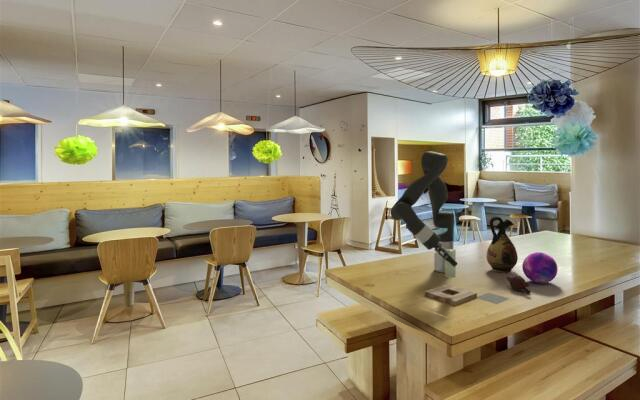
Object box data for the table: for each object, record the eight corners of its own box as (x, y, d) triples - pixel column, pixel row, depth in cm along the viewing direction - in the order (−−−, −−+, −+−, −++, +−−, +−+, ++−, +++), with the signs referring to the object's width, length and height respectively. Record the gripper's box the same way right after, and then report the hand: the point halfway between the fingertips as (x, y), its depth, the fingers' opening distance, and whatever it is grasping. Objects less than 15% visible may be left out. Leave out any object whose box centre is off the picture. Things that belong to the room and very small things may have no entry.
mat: (475, 298, 169) (475, 297, 169) (488, 293, 174) (488, 292, 174) (497, 304, 161) (497, 303, 161) (509, 299, 166) (509, 298, 166)
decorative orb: (548, 289, 177) (549, 258, 176) (516, 282, 189) (517, 252, 188) (562, 283, 186) (563, 253, 185) (530, 276, 198) (531, 247, 197)
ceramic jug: (510, 266, 216) (511, 214, 213) (522, 274, 201) (523, 218, 198) (479, 266, 218) (480, 214, 215) (488, 274, 202) (489, 219, 199)
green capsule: (443, 276, 171) (443, 250, 170) (449, 274, 174) (449, 248, 172) (451, 278, 167) (451, 251, 166) (457, 276, 170) (457, 250, 169)
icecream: (498, 272, 184) (521, 285, 170) (511, 267, 185) (535, 279, 171) (500, 285, 186) (523, 298, 171) (513, 280, 187) (537, 293, 173)
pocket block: (424, 296, 173) (424, 291, 173) (446, 288, 182) (446, 284, 182) (454, 306, 160) (454, 301, 160) (476, 297, 169) (476, 293, 169)
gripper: (435, 234, 163) (464, 262, 162) (431, 228, 176) (458, 253, 176) (422, 246, 164) (451, 274, 163) (419, 239, 178) (446, 264, 177)
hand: (454, 263), depth 170 cm, fingers closed on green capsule, 4 cm apart
